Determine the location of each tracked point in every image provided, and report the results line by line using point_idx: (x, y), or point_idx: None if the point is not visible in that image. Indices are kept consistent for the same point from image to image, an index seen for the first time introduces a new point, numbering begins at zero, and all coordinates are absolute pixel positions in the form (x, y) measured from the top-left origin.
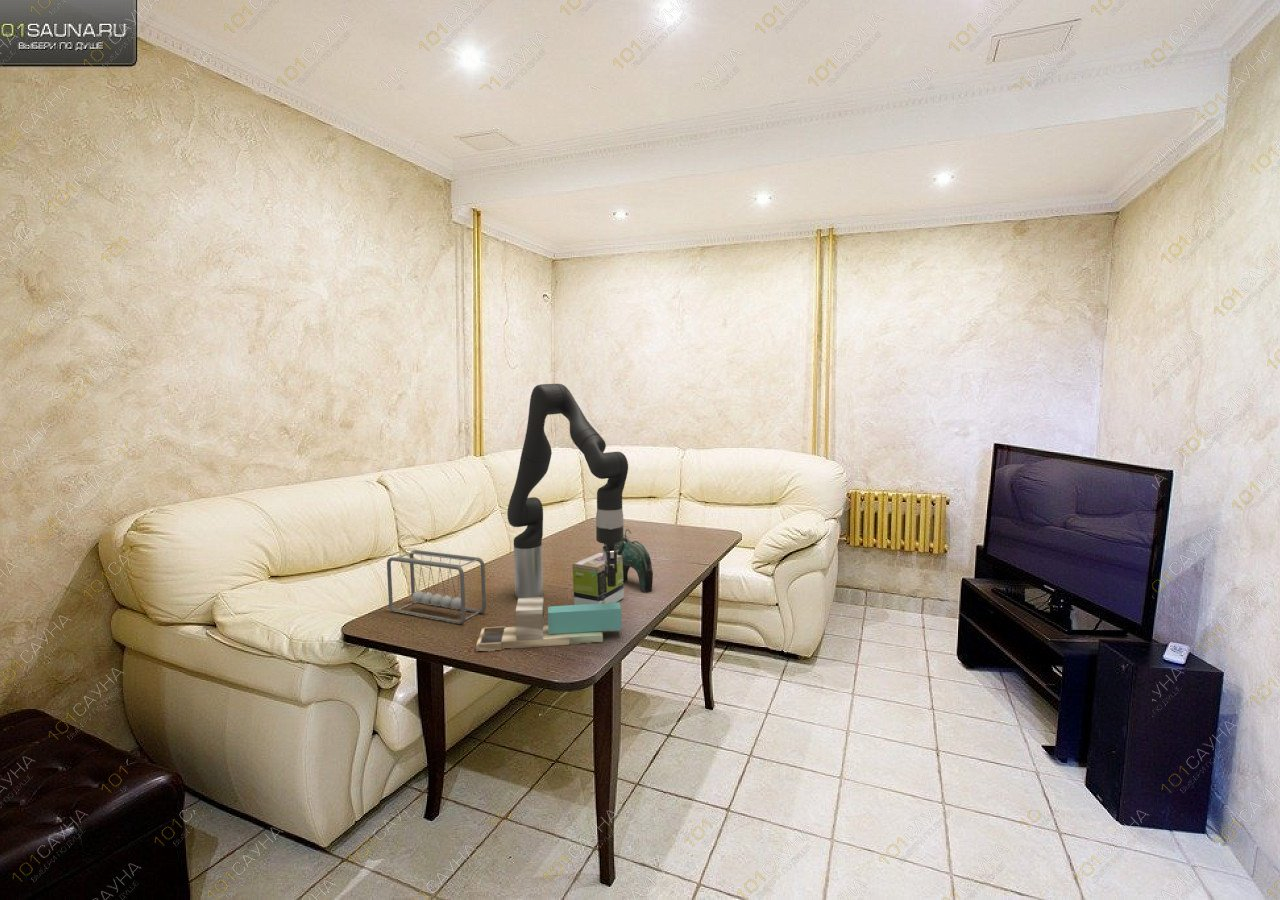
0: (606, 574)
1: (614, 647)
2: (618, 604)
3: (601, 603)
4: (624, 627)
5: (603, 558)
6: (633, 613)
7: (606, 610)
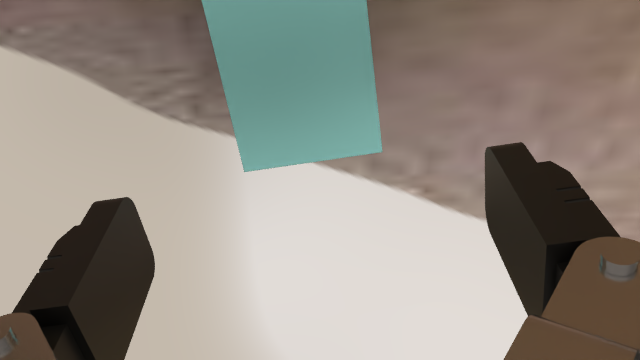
0: (493, 169)
1: (119, 57)
2: (337, 147)
3: (366, 8)
4: (404, 96)
5: (531, 318)
6: (613, 136)
7: (219, 61)
